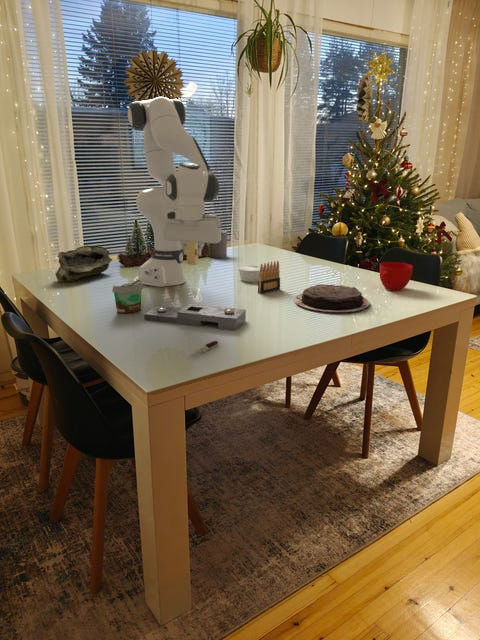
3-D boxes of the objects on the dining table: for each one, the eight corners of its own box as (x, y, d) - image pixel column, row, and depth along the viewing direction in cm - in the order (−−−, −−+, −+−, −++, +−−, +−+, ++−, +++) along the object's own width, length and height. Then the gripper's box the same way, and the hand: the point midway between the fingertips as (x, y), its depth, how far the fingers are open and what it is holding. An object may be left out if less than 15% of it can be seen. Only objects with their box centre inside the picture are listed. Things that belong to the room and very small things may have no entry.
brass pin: (186, 264, 171) (186, 241, 168) (190, 262, 173) (189, 239, 171) (195, 264, 170) (194, 241, 167) (198, 263, 173) (197, 240, 170)
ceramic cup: (366, 290, 203) (369, 266, 200) (386, 283, 214) (389, 260, 211) (396, 297, 194) (399, 272, 191) (415, 289, 206) (418, 265, 203)
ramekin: (265, 277, 223) (265, 265, 221) (263, 283, 213) (263, 271, 211) (240, 276, 224) (240, 264, 223) (237, 282, 214) (237, 270, 212)
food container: (127, 317, 167) (125, 288, 164) (114, 314, 170) (111, 286, 167) (151, 308, 177) (150, 281, 174) (139, 305, 180) (137, 278, 177)
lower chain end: (144, 319, 165) (143, 311, 164) (158, 311, 174) (157, 303, 173) (200, 326, 159) (200, 317, 158) (211, 317, 168) (211, 308, 167)
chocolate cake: (291, 293, 200) (291, 277, 198) (361, 294, 199) (362, 278, 197) (296, 314, 173) (297, 296, 171) (377, 316, 172) (379, 298, 170)
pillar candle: (206, 258, 261) (206, 229, 256) (210, 254, 270) (211, 226, 266) (224, 259, 260) (225, 230, 255) (228, 255, 269) (228, 227, 264)
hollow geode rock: (109, 281, 232) (93, 255, 235) (122, 265, 225) (105, 238, 227) (57, 292, 210) (40, 263, 213) (69, 274, 203) (51, 245, 205)
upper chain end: (177, 323, 161) (177, 309, 160) (189, 314, 170) (189, 300, 169) (236, 330, 156) (236, 315, 154) (245, 321, 165) (245, 306, 163)
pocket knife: (217, 344, 144) (217, 338, 144) (219, 345, 144) (219, 339, 143) (186, 359, 134) (186, 352, 133) (189, 360, 133) (189, 353, 133)
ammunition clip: (260, 293, 197) (261, 264, 193) (257, 292, 198) (258, 263, 194) (280, 289, 203) (281, 260, 199) (277, 288, 204) (278, 259, 201)
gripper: (223, 214, 166) (224, 255, 171) (168, 211, 172) (169, 251, 176) (217, 216, 161) (217, 258, 165) (160, 213, 166) (161, 254, 171)
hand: (192, 254), depth 171 cm, fingers closed on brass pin, 3 cm apart
